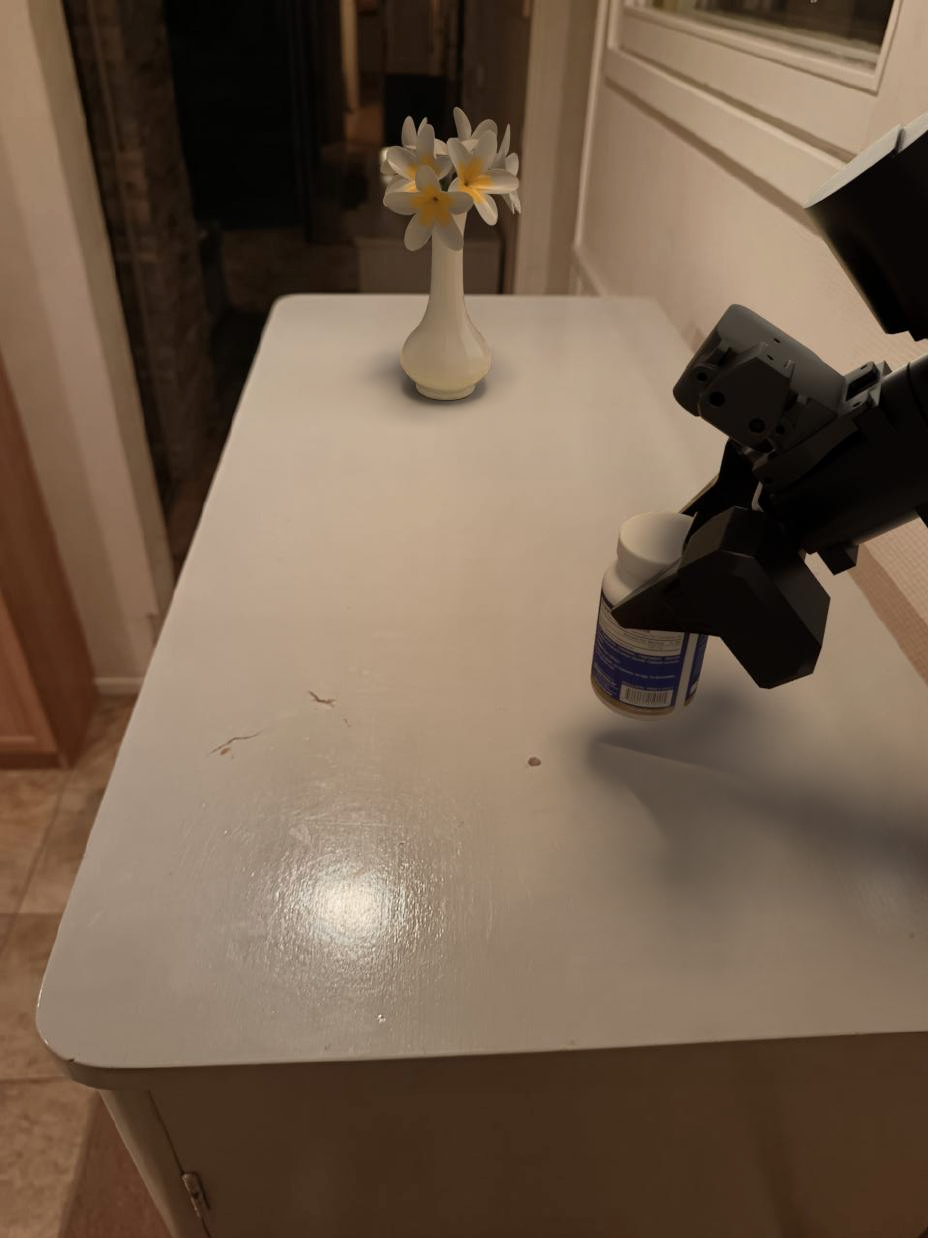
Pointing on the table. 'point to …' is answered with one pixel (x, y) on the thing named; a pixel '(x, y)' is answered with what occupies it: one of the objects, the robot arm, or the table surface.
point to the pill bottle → (644, 659)
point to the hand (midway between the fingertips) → (632, 585)
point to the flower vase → (447, 242)
